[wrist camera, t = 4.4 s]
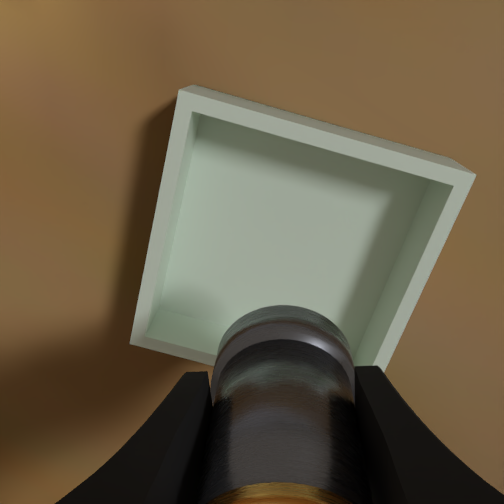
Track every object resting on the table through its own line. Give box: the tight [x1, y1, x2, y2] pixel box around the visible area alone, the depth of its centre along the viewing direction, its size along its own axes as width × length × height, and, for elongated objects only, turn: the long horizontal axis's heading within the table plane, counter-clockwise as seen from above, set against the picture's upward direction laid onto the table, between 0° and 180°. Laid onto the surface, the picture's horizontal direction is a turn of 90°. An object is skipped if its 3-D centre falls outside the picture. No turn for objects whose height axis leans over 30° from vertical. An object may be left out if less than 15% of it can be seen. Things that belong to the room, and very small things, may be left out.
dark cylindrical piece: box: [195, 305, 373, 504], centre depth 12 cm, size 4×4×7 cm
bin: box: [130, 85, 476, 372], centre depth 21 cm, size 11×11×3 cm
